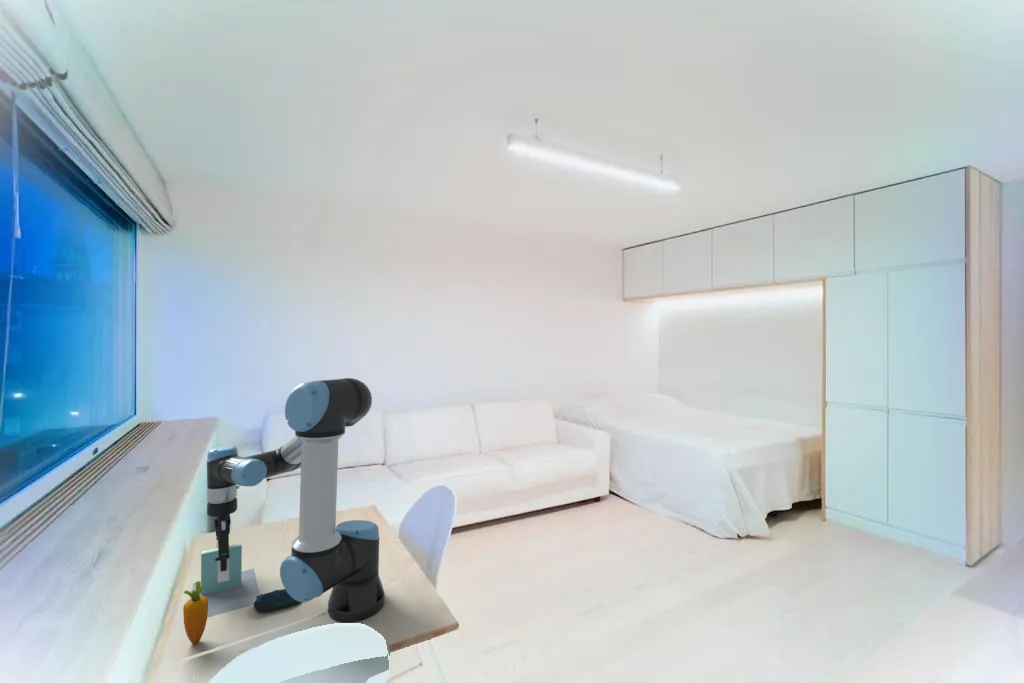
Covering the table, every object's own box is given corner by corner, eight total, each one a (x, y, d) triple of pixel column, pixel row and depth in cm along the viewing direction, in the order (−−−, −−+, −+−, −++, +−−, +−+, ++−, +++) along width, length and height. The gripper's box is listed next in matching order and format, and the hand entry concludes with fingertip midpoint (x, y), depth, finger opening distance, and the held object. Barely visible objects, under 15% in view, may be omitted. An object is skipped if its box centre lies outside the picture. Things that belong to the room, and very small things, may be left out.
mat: (261, 603, 126) (261, 601, 126) (191, 624, 117) (191, 621, 117) (253, 570, 144) (253, 568, 144) (192, 585, 135) (192, 583, 135)
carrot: (195, 653, 106) (196, 590, 106) (177, 650, 107) (178, 588, 107) (212, 639, 111) (213, 579, 111) (195, 637, 112) (196, 577, 112)
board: (241, 585, 134) (241, 545, 134) (200, 595, 128) (201, 554, 128) (240, 582, 136) (241, 542, 136) (200, 592, 130) (201, 551, 130)
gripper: (240, 509, 124) (240, 585, 124) (234, 486, 144) (234, 551, 144) (207, 515, 120) (207, 594, 120) (206, 490, 140) (206, 558, 140)
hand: (222, 571), depth 132 cm, fingers open, 13 cm apart
